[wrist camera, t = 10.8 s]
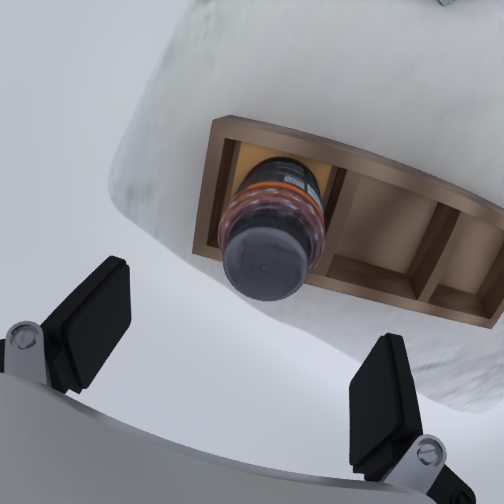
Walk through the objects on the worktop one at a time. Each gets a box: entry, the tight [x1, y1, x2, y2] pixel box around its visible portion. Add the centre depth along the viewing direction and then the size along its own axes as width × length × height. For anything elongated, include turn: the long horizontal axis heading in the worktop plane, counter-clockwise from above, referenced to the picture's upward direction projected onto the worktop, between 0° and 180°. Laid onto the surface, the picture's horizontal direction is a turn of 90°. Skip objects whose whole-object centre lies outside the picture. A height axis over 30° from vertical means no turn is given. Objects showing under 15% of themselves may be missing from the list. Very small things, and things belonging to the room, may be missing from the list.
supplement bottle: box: [218, 157, 326, 301], centre depth 19 cm, size 6×6×11 cm
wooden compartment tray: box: [192, 115, 504, 329], centre depth 23 cm, size 28×10×5 cm, turn 78°
